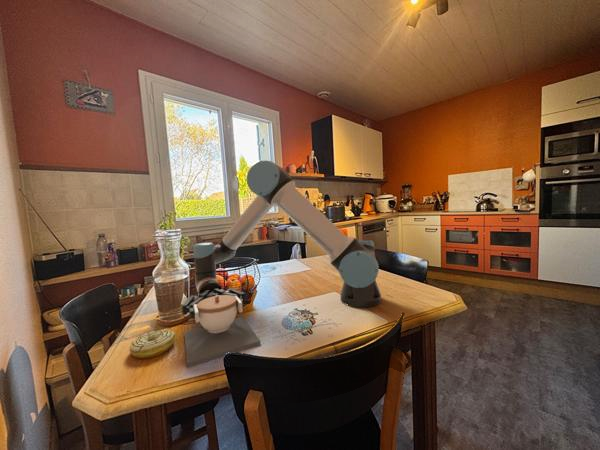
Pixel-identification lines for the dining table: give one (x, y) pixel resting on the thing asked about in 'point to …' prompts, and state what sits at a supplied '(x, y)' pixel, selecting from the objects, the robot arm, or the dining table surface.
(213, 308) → the lidded jar
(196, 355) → the mat
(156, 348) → the decorated donut
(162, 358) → the dining table surface
